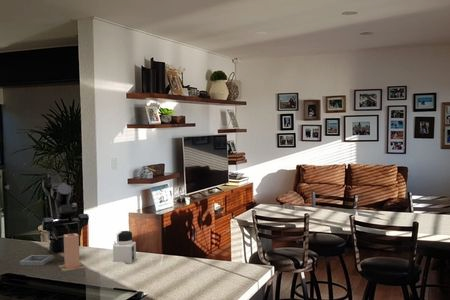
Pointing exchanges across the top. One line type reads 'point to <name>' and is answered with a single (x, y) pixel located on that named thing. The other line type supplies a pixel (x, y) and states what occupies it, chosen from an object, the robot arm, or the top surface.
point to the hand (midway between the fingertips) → (68, 238)
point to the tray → (34, 257)
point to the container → (124, 248)
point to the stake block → (71, 268)
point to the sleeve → (71, 250)
